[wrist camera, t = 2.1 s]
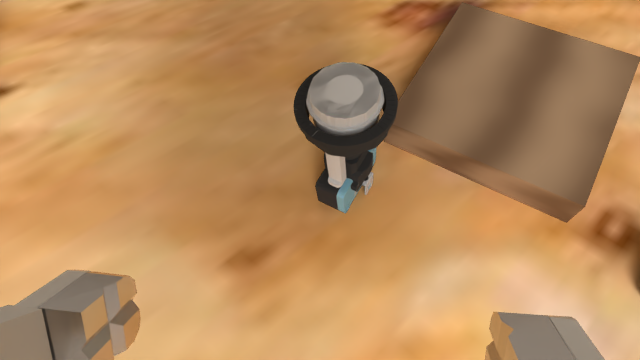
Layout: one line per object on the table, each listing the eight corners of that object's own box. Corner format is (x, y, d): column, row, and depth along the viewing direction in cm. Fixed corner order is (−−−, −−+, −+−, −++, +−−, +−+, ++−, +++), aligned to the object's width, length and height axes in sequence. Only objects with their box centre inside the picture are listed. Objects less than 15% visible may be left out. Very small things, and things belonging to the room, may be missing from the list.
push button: (343, 126, 32) (335, 20, 23) (408, 153, 30) (428, 51, 21) (298, 197, 29) (270, 109, 20) (366, 230, 27) (368, 151, 19)
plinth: (384, 141, 31) (385, 120, 28) (456, 27, 35) (462, 2, 33) (566, 222, 26) (585, 206, 24) (621, 81, 31) (640, 57, 29)
